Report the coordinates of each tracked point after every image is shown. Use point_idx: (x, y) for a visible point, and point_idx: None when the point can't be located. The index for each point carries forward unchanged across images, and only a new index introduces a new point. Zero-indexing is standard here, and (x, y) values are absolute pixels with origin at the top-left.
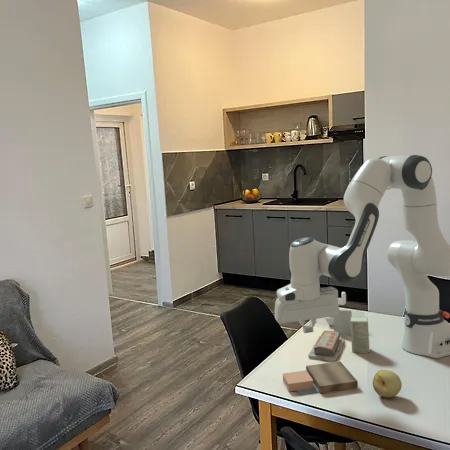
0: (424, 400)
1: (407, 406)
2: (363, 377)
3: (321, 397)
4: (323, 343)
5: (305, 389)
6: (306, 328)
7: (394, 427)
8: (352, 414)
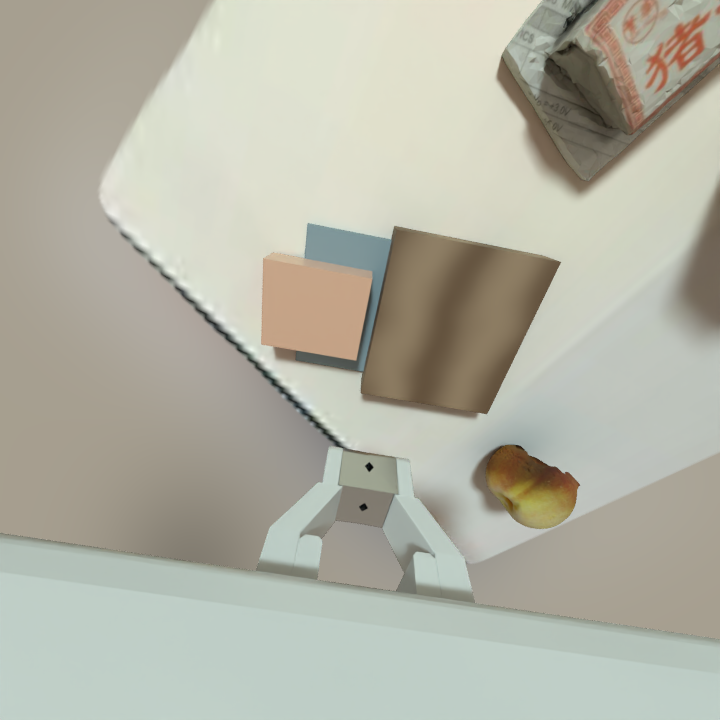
0: None
1: None
2: (550, 353)
3: (354, 393)
4: (670, 11)
5: None
6: (336, 516)
7: None
8: None
